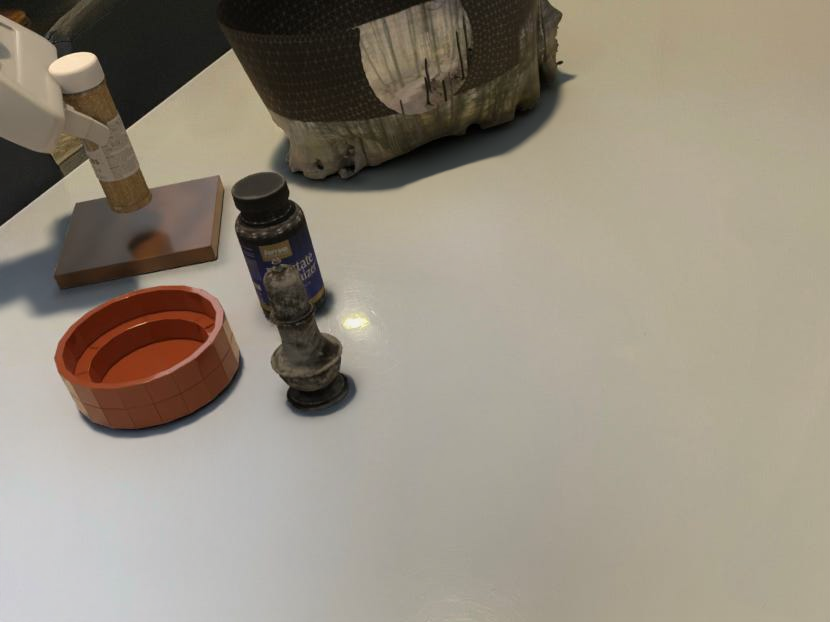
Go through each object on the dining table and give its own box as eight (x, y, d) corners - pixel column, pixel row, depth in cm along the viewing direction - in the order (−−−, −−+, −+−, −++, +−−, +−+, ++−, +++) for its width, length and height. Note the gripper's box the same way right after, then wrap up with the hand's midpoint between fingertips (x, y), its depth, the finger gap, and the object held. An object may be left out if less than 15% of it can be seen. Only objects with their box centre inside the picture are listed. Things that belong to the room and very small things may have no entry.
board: (60, 289, 96) (53, 276, 95) (81, 216, 105) (75, 202, 104) (216, 259, 95) (211, 245, 94) (224, 188, 105) (219, 174, 104)
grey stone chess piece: (274, 385, 81) (226, 253, 72) (339, 360, 82) (299, 226, 73) (295, 422, 77) (247, 288, 68) (362, 396, 78) (324, 260, 69)
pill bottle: (284, 330, 86) (244, 211, 77) (250, 305, 89) (208, 189, 81) (340, 299, 88) (307, 180, 79) (304, 276, 91) (269, 159, 83)
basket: (588, 155, 98) (579, -28, 86) (254, 210, 101) (198, 40, 88) (557, 47, 116) (547, -118, 103) (275, 96, 118) (231, -60, 106)
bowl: (67, 446, 80) (41, 402, 76) (91, 346, 89) (68, 302, 85) (237, 414, 79) (218, 369, 76) (243, 317, 88) (227, 272, 85)
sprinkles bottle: (104, 205, 98) (40, 63, 88) (144, 187, 100) (86, 45, 89) (120, 220, 96) (55, 76, 85) (161, 202, 97) (102, 58, 87)
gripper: (-61, 36, 91) (86, 114, 100) (-69, 118, 79) (100, 200, 87) (-41, -31, 88) (109, 56, 97) (-46, 43, 76) (128, 136, 84)
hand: (105, 125), depth 92 cm, fingers closed on sprinkles bottle, 4 cm apart
